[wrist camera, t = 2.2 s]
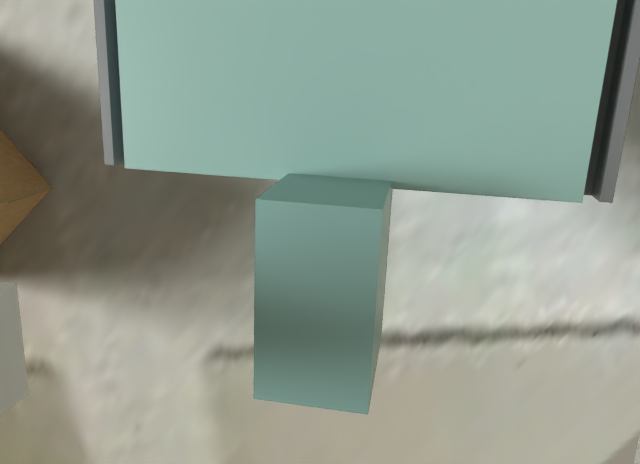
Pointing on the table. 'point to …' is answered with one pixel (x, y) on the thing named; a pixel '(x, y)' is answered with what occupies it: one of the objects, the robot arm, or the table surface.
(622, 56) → the tub
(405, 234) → the table surface
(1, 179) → the sandwich container
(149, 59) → the lid
